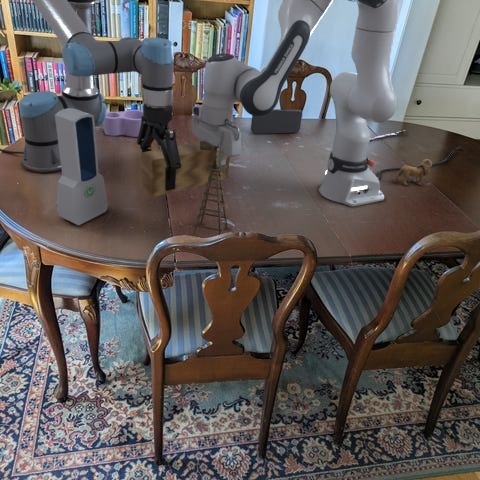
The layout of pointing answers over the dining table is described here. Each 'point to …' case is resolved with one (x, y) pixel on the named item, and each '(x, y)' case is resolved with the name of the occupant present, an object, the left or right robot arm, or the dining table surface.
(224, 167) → the miniature windmill
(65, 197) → the electronic device
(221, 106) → the right robot arm
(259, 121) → the handheld gaming console
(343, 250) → the dining table surface
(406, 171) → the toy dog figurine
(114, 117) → the purple double bowl
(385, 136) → the sword
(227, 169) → the box
